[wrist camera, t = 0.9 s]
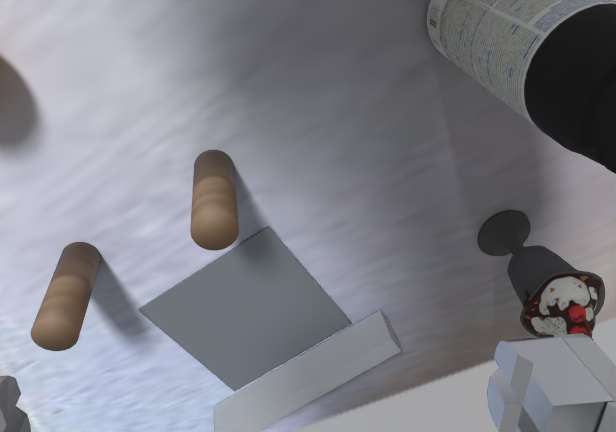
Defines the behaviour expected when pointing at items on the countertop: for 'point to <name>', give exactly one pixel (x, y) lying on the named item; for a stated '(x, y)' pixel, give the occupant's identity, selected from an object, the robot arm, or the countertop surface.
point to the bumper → (308, 376)
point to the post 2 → (214, 201)
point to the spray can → (540, 63)
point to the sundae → (543, 280)
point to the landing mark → (247, 311)
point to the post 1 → (67, 298)
